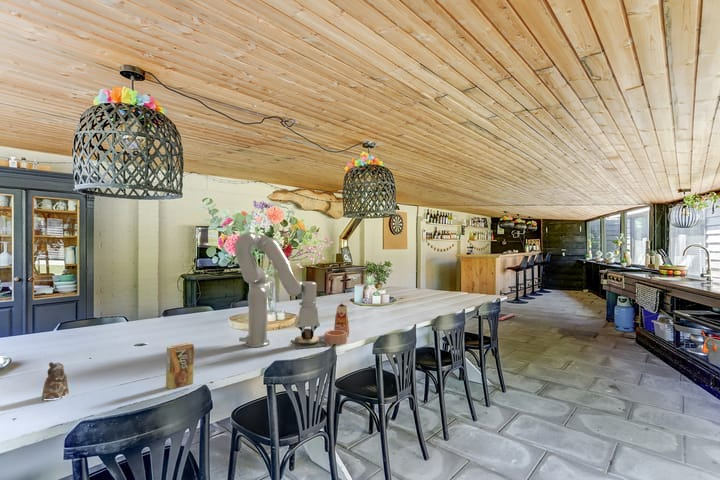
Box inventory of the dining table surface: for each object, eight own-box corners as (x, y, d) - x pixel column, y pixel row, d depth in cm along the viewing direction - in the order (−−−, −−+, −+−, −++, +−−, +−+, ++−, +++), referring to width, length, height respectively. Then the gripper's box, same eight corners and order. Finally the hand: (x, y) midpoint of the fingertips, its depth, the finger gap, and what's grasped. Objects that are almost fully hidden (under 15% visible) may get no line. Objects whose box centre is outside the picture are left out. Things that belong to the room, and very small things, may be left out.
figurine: (50, 402, 128) (50, 367, 128) (37, 399, 130) (37, 364, 130) (72, 394, 134) (73, 361, 134) (60, 391, 137) (60, 358, 137)
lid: (297, 344, 194) (298, 333, 194) (292, 337, 206) (293, 327, 206) (322, 342, 199) (322, 331, 199) (315, 336, 211) (316, 325, 211)
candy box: (189, 380, 149) (189, 342, 149) (193, 383, 146) (194, 344, 146) (165, 386, 142) (166, 346, 142) (169, 390, 140) (170, 349, 139)
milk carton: (348, 336, 218) (349, 302, 218) (332, 336, 218) (333, 302, 218) (349, 332, 227) (350, 299, 227) (334, 332, 228) (334, 299, 227)
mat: (297, 349, 192) (297, 348, 192) (291, 341, 207) (291, 340, 207) (327, 346, 198) (327, 345, 198) (319, 338, 213) (319, 337, 213)
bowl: (328, 345, 199) (328, 336, 199) (322, 339, 210) (322, 331, 210) (349, 343, 204) (349, 334, 204) (342, 338, 215) (342, 329, 215)
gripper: (294, 306, 196) (293, 341, 196) (325, 305, 202) (323, 339, 202) (292, 303, 203) (290, 337, 203) (321, 303, 209) (320, 335, 209)
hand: (307, 338), depth 202 cm, fingers closed on lid, 3 cm apart
